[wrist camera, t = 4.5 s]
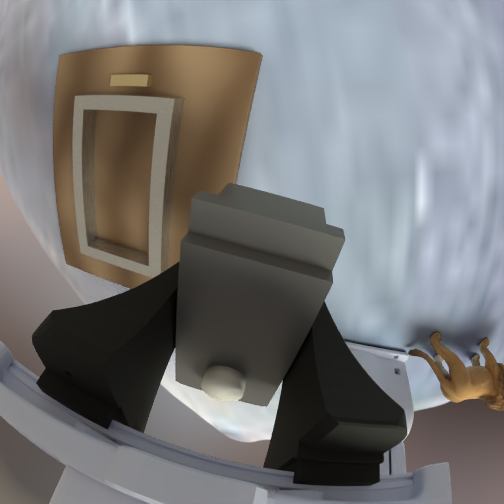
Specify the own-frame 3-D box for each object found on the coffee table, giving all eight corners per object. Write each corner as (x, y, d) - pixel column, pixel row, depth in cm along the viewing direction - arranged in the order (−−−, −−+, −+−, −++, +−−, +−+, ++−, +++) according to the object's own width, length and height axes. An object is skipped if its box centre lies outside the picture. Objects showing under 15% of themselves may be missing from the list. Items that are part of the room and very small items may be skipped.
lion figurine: (514, 328, 20) (542, 388, 13) (492, 359, 23) (513, 417, 15) (416, 329, 22) (438, 412, 15) (397, 365, 25) (408, 440, 17)
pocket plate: (262, 55, 14) (256, 48, 12) (214, 307, 25) (206, 326, 22) (67, 55, 15) (46, 55, 13) (71, 258, 25) (57, 271, 23)
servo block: (331, 185, 11) (350, 263, 6) (274, 337, 15) (259, 426, 11) (232, 159, 11) (174, 215, 6) (206, 318, 16) (171, 401, 11)
